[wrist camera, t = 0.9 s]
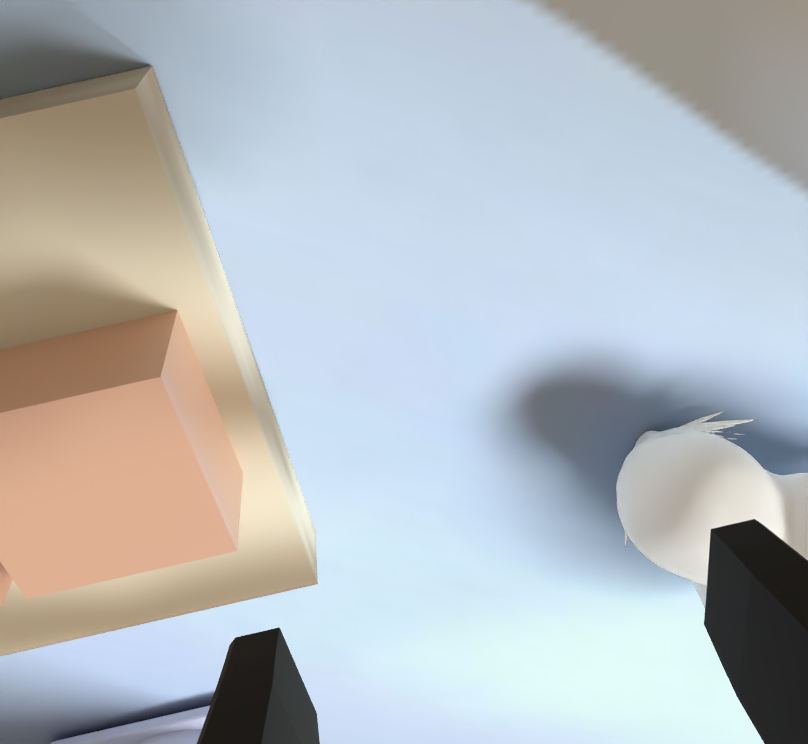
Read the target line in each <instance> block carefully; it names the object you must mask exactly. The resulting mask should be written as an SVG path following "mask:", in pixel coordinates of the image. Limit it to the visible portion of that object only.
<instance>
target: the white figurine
mask: <svg viewBox="0 0 808 744" xmlns="http://www.w3.org/2000/svg"><path fill="white" fill-rule="evenodd" d="M722 412H724V411H722ZM719 414H721V413H715V414H713V415H709V416H706V417H702V418H699V419H697V420H694V421H692V422H690V423H687V424H685V425H683V426H680V427H677V428H672V429H668V430H665V431H660V432H658V431H647V432H645V433H643V434H642V435H641V436H640V437H639V439H638V440H637V442H636V444H635V446H634V449H633V450H632V451H631V452H630V453H629V454H628V456H627V457H626V459H625V461H624V463H623V466H622V468H621V471H620V473H619V476H618V480H617V484H616V491H617V509H618V514H619V517H620V520H621V523H622V525H623V527H624V529H625V545H626V541H627V535H628V538H630V540H631V541H632V542H633V544H634V545H635V546H636V548H637V549H638V550H639V551H640V552H641V553H642V554H643V555H644V556H646V557H647V558H648V559H649V560H650V561H652V562H653V563H655V564H656V565H658V566H659V567H661V568H663V569H665V570H667V571H669V572H671V573H673V574H676V575H679V576H682V577H684V578H687V579H689V580H692V581H693V583H694V585H695V588H696V590H697V592H698V594H699V596H700V598H701V601H702V603H703V605H704V607H705V605H706V591H707V576H708V562H709V547H710V533H711V529H713V528H717V527H722V526H726V525H730V524H735V523H739V522H743V521H748V520H752V519H755V520H757V521H759V522H760V523H762V524H763V525H764V526H765V527H767V528H768V529H769V530H770V531H772V532H773V533H774V534H775V535H777V536H778V537H779V538H780V539H782V540H783V541H784V542H785V543H787V544H788V545H789V546H790V547H792V548H793V549H794V550H795V551H797V552H798V553H799V554H801V555H802V556H803V557H804V558H806V559H807V560H808V473H795V474H789V475H777V474H774V473H771V472H769V471H767V470H765V469H764V468H763V467H762V466H761V465H760V464H759V463H758V462H757V461H756V460H755V459H754V458H753V457H752V456H751V455H750V454H749V453H748V452H746V451H745V450H744V449H742V448H741V447H739V446H737V445H736V444H734V443H732V442H730V441H728V440H726V439H723V438H721V437H723V436H719V435H714V433H713V432H719V431H711V430H717V429H723V428H728V427H731V426H735V425H734V424H741V423H747V422H750V421H753V420H754V419H750V420H732V421H718V422H706V423H703V422H704V421H707V420H709V419H711V418H713V417H715V416H717V415H719ZM757 420H758V419H757ZM710 432H712V433H713V434H710ZM729 432H730V431H729ZM733 432H734V431H733ZM721 433H723V432H722V431H721ZM730 434H731V433H730ZM734 434H735V433H734ZM737 434H738V433H737ZM739 435H743V434H739ZM744 435H746V434H744ZM727 439H732V438H727ZM734 439H735V438H734ZM736 440H737V439H736ZM625 547H626V546H625ZM625 551H626V550H625Z"/></svg>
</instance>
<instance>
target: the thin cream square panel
mask: <svg viewBox="0 0 808 744" xmlns="http://www.w3.org/2000/svg"><path fill="white" fill-rule="evenodd" d="M175 310H178V312H179V315H180V317H181V320H182V322H183V325H184V327H185V330H186V332H187V335H188V337H189V340H190V342H191V345H192V347H193V350H194V352H195V355H196V357H197V360H198V362H199V364H200V367H201V369H202V372H203V374H204V377H205V379H206V382H207V384H208V387H209V389H210V392H211V394H212V397H213V399H214V402H215V404H216V407H217V409H218V412H219V414H220V417H221V419H222V422H223V424H224V427H225V429H226V432H227V434H228V437H229V439H230V442H231V444H232V447H233V449H234V452H235V454H236V457H237V459H238V461H239V464H240V466H241V469H242V471H243V483H242V496H241V510H240V523H239V536H238V550H237V551H235V552H231V553H226V554H222V555H218V556H213V557H209V558H204V559H200V560H196V561H191V562H187V563H182V564H178V565H174V566H169V567H165V568H161V569H156V570H152V571H147V572H143V573H139V574H134V575H130V576H125V577H121V578H117V579H112V580H108V581H103V582H99V583H95V584H90V585H86V586H81V587H77V588H73V589H68V590H64V591H59V592H55V593H51V594H46V595H42V596H38V597H33V598H29V599H26V598H25V596H24V595H23V593H22V592H21V590H20V589H19V588H18V586H17V585H16V583H15V582H14V581H13V580H12V583H11V585H10V588H9V591H8V593H7V596H6V598H5V601H4V603H3V604H2V605H0V656H4V655H8V654H13V653H17V652H22V651H26V650H30V649H35V648H39V647H43V646H48V645H52V644H57V643H61V642H65V641H70V640H74V639H78V638H83V637H87V636H92V635H96V634H100V633H105V632H109V631H114V630H118V629H122V628H127V627H131V626H135V625H140V624H144V623H149V622H153V621H157V620H162V619H166V618H170V617H175V616H179V615H184V614H188V613H192V612H197V611H201V610H206V609H210V608H214V607H219V606H223V605H227V604H232V603H236V602H241V601H245V600H249V599H254V598H258V597H262V596H267V595H271V594H276V593H280V592H284V591H289V590H293V589H297V588H302V587H306V586H311V585H315V584H318V583H317V560H316V537H315V529H314V526H313V523H312V520H311V517H310V514H309V511H308V509H307V506H306V503H305V500H304V497H303V494H302V491H301V489H300V486H299V483H298V480H297V477H296V474H295V472H294V469H293V466H292V463H291V460H290V457H289V454H288V452H287V449H286V446H285V443H284V440H283V437H282V434H281V432H280V429H279V426H278V423H277V420H276V417H275V414H274V412H273V409H272V406H271V403H270V400H269V397H268V394H267V392H266V389H265V386H264V383H263V380H262V377H261V374H260V372H259V369H258V366H257V363H256V360H255V357H254V354H253V352H252V349H251V346H250V343H249V340H248V337H247V334H246V332H245V329H244V326H243V323H242V320H241V317H240V315H239V312H238V309H237V306H236V303H235V300H234V297H233V295H232V292H231V289H230V286H229V283H228V280H227V277H226V275H225V272H224V269H223V266H222V263H221V260H220V257H219V255H218V252H217V249H216V246H215V243H214V240H213V237H212V235H211V232H210V229H209V226H208V223H207V220H206V217H205V215H204V212H203V209H202V206H201V203H200V200H199V197H198V195H197V192H196V189H195V186H194V183H193V180H192V177H191V175H190V172H189V169H188V166H187V163H186V160H185V157H184V155H183V152H182V149H181V146H180V143H179V140H178V138H177V135H176V132H175V129H174V126H173V123H172V120H171V118H170V115H169V112H168V109H167V106H166V103H165V100H164V98H163V95H162V92H161V89H160V86H159V83H158V80H157V78H156V75H155V72H154V69H153V66H148V67H144V68H139V69H135V70H130V71H126V72H121V73H116V74H112V75H107V76H103V77H98V78H94V79H89V80H85V81H80V82H76V83H71V84H67V85H62V86H58V87H53V88H49V89H44V90H40V91H35V92H31V93H26V94H22V95H17V96H12V97H8V98H3V99H0V350H2V349H6V348H11V347H15V346H19V345H24V344H28V343H33V342H37V341H42V340H46V339H51V338H55V337H60V336H64V335H68V334H73V333H77V332H82V331H86V330H91V329H95V328H100V327H104V326H109V325H113V324H117V323H122V322H126V321H131V320H135V319H140V318H144V317H149V316H153V315H158V314H162V313H167V312H171V311H175Z"/></svg>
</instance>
